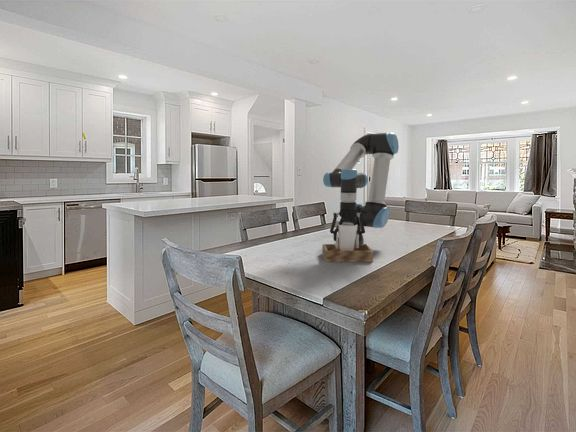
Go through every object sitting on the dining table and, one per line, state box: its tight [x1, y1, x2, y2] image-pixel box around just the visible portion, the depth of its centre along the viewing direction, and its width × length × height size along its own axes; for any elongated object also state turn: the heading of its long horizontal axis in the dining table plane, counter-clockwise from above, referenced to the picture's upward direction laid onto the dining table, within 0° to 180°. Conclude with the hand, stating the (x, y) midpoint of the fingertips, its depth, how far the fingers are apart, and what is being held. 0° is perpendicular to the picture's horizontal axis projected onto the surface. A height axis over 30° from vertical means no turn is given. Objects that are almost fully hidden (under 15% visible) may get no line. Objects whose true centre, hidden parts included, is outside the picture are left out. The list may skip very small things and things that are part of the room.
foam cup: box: [337, 223, 357, 251], centre depth 162 cm, size 10×9×13 cm
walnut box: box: [321, 243, 374, 263], centre depth 163 cm, size 22×15×5 cm
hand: (346, 247), depth 163 cm, fingers closed on foam cup, 9 cm apart
